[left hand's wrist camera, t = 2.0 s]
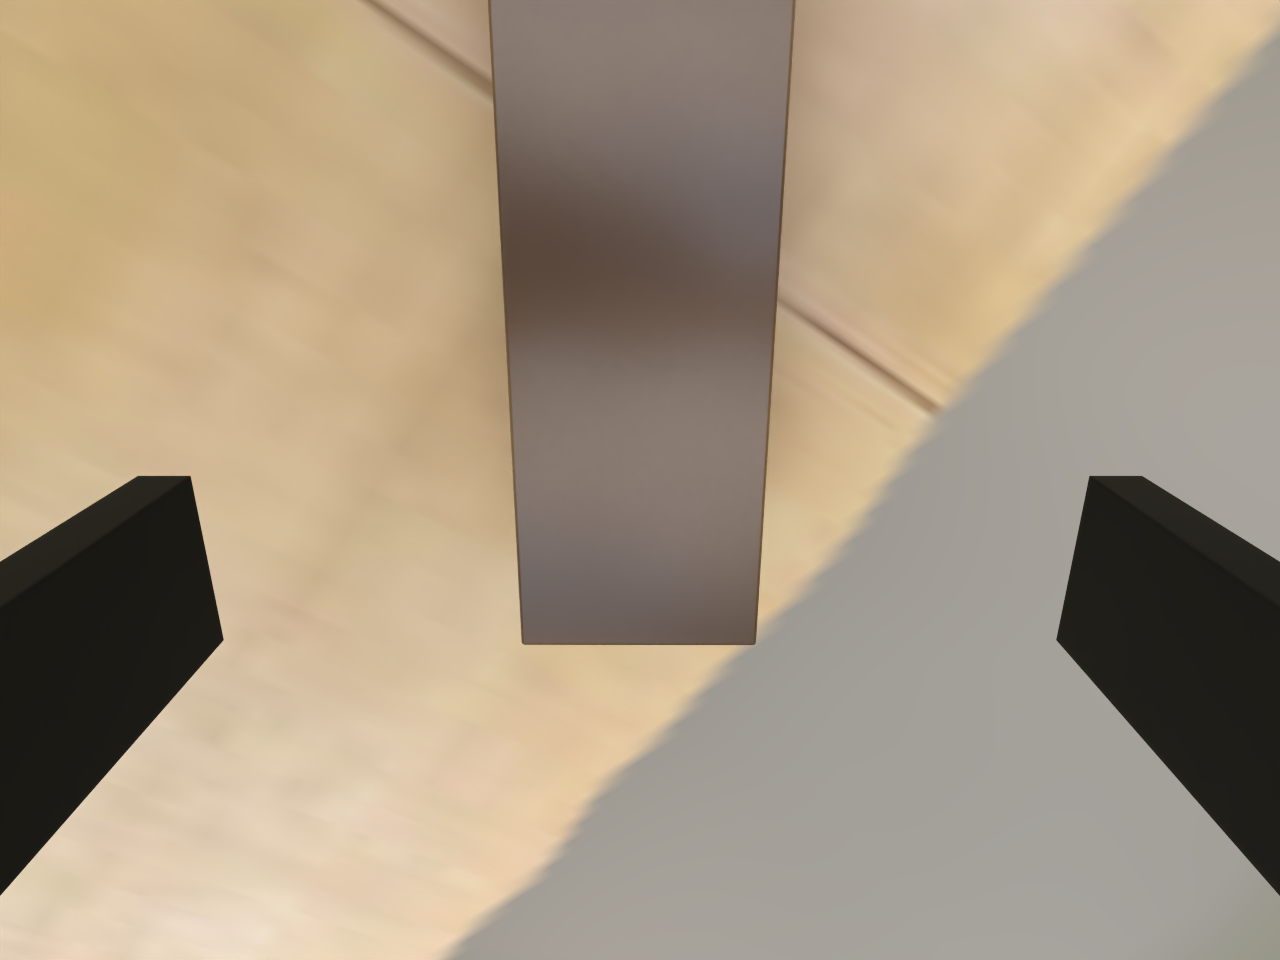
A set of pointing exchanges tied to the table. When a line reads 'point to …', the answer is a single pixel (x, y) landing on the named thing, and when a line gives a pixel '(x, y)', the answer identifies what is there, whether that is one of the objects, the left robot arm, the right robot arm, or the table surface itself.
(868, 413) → the table surface
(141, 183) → the table surface
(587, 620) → the beam
